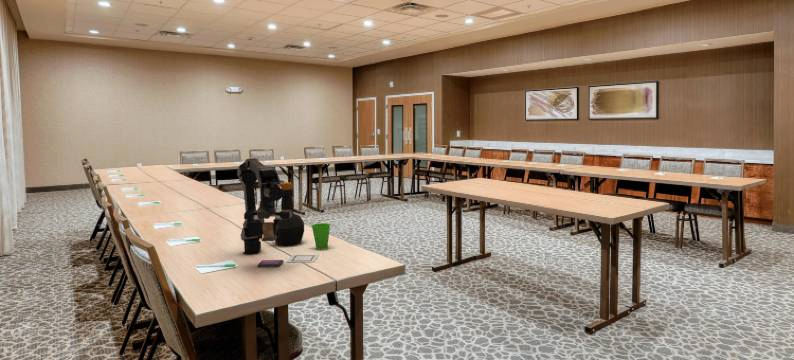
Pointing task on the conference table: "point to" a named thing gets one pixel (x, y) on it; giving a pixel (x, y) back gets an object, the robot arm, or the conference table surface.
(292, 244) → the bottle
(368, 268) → the conference table surface
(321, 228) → the cup
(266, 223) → the stamp
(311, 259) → the frame
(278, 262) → the ink pad
